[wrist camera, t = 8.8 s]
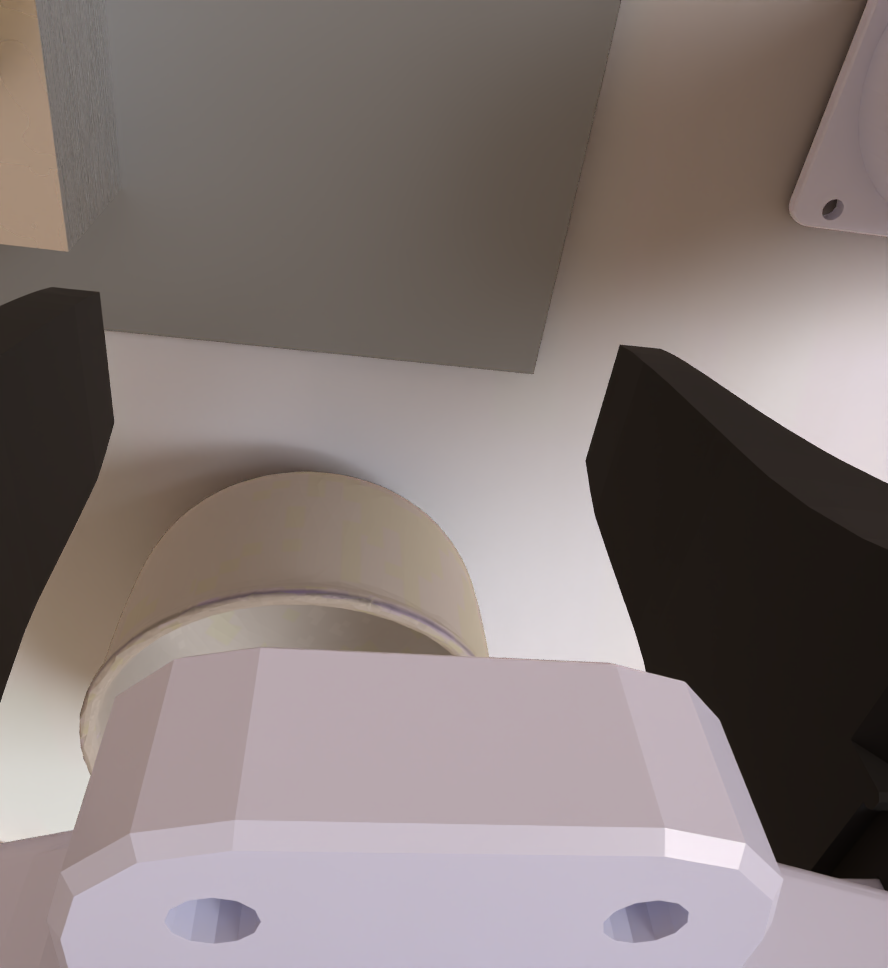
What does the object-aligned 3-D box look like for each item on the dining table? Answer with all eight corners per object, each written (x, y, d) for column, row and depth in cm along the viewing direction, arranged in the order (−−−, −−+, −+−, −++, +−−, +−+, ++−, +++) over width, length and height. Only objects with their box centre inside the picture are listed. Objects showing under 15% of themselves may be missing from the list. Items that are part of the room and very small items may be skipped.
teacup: (79, 529, 26) (-21, 743, 20) (347, 352, 23) (328, 540, 17) (350, 739, 34) (340, 945, 27) (584, 627, 30) (635, 832, 24)
